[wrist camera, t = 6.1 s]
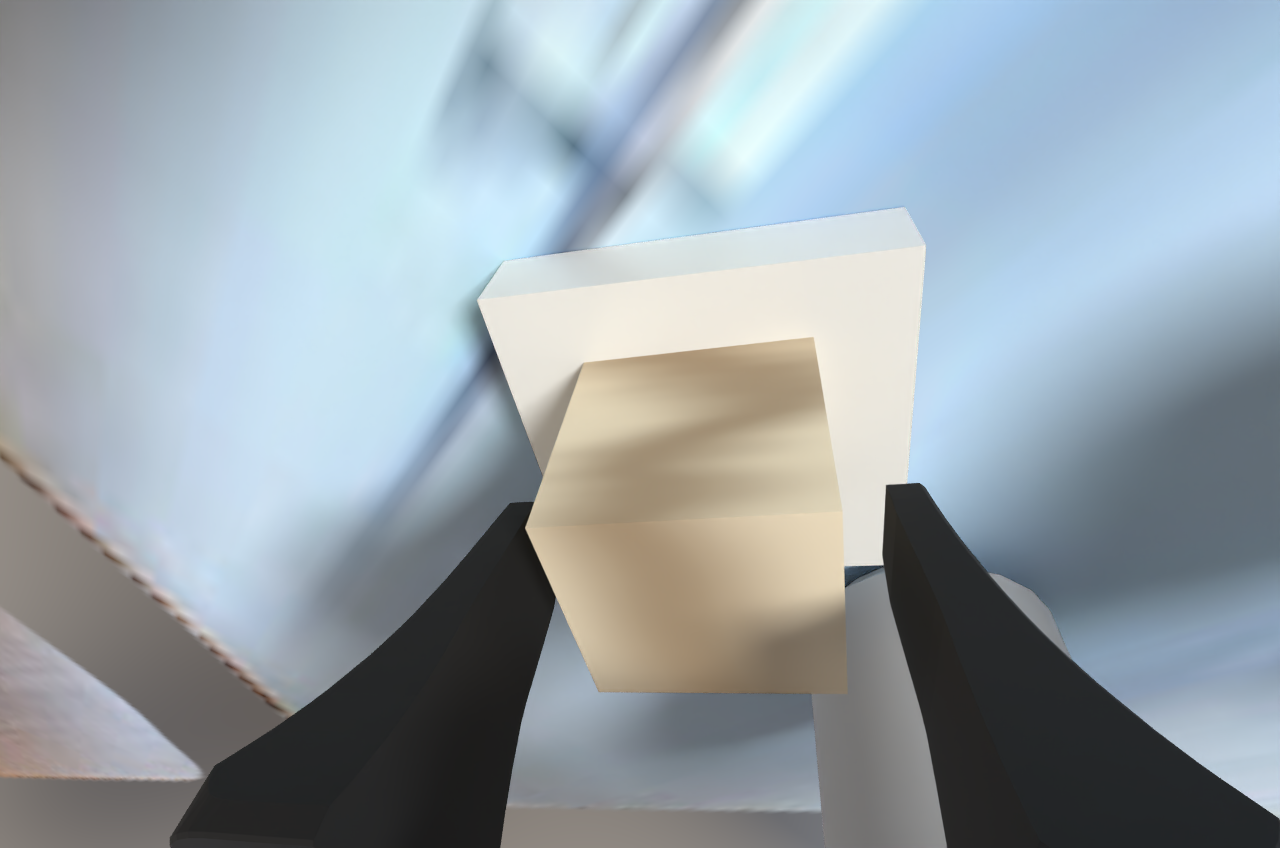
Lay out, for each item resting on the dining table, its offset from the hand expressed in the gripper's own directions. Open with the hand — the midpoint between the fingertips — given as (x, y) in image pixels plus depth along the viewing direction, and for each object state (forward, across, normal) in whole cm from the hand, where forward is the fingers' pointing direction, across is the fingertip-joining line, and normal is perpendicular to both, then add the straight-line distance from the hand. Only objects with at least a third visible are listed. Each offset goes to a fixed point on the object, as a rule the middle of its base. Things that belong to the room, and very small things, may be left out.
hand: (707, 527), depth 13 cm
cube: (+3, 0, 0) cm, 3 cm away
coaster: (+5, 0, 0) cm, 5 cm away
